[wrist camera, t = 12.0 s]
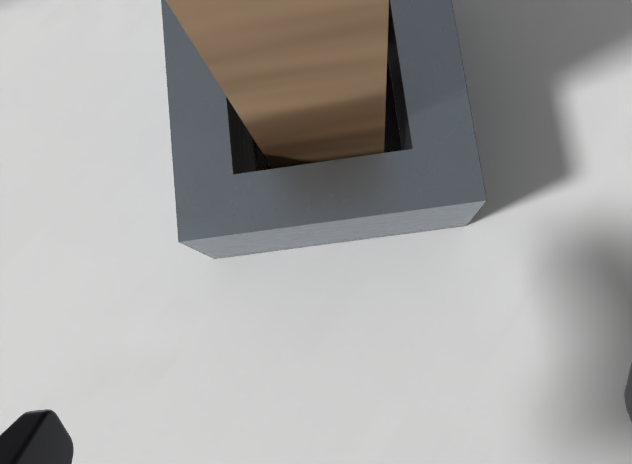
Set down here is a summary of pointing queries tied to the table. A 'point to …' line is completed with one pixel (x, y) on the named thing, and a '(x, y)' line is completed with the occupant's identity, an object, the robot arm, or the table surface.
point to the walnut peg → (298, 72)
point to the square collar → (329, 176)
